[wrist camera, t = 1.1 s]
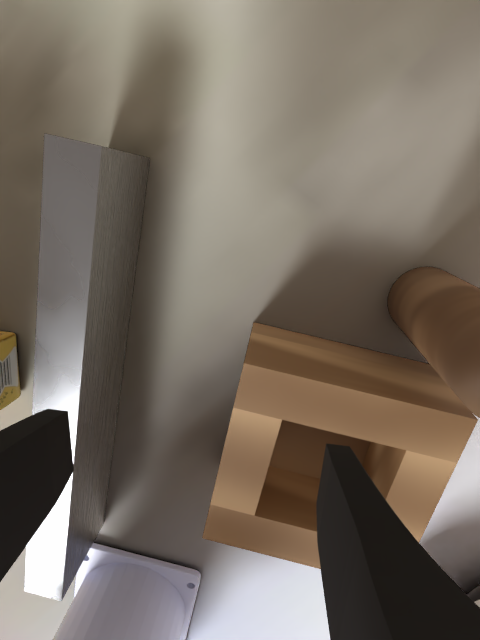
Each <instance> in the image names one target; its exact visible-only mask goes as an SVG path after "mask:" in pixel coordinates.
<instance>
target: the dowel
mask: <svg viewBox="0 0 480 640" xmlns="http://www.w3.org/2000/svg"><path fill="white" fill-rule="evenodd" d="M388 310H389V314H390V316H391V318H392V319H393V321H394V322H395V323H396V324H397V325H398V326H399V328H400V329H401V330H402V331H403V332H404V334H405V335H406V336H407V337H408V338H409V340H410V341H411V342H412V343H413V344H414V346H415V347H416V348H417V349H418V350H419V351H420V353H421V354H422V355H423V356H424V357H425V359H426V360H427V361H428V362H429V363H430V365H431V366H432V367H433V368H434V369H435V370H436V372H437V373H438V374H439V375H440V376H441V378H442V379H443V380H444V381H445V382H446V384H447V385H448V386H449V387H450V388H451V390H452V391H453V392H454V393H455V394H456V395H457V397H458V398H459V399H460V400H461V401H462V403H463V404H464V405H465V406H466V407H467V408H468V409H469V410H470V411H471V412H472V413H473V414H474V415H476V416H478V417H479V418H480V288H478V287H476V286H474V285H472V284H470V283H468V282H466V281H464V280H462V279H460V278H458V277H456V276H454V275H451V274H449V273H447V272H445V271H443V270H441V269H439V268H435V267H419V268H415V269H412V270H410V271H408V272H406V273H404V274H403V275H402V276H400V277H399V278H398V279H397V280H396V282H395V283H394V284H393V286H392V288H391V290H390V292H389V295H388Z"/></svg>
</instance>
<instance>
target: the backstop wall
mask: <svg viewBox="0 0 480 640" xmlns="http://www.w3.org/2000/svg"><path fill="white" fill-rule="evenodd" d="M149 163H150V158H148V157H144V156H140V155H135V154H131V153H127V152H123V151H119V150H115V149H111V148H107V147H103V146H98V145H94V144H90V143H85V142H81V141H76V140H72V139H67V138H63V137H59V136H54V135H50V134H45V135H44V157H43V180H42V203H41V226H40V248H39V271H38V294H37V316H36V339H35V362H34V385H33V407H32V415H34V414H36V413H38V412H41V411H43V410H46V409H54V410H62V411H68V417H69V427H70V436H71V446H72V456H73V465H74V471H73V473H72V475H71V477H70V479H69V481H68V483H67V485H66V486H65V488H64V490H63V492H62V494H61V496H60V497H59V499H58V501H57V503H56V504H55V506H54V507H53V509H52V510H51V512H50V513H49V514H48V516H47V517H46V519H45V520H44V522H43V523H42V524H41V526H40V527H39V529H38V530H37V531H36V533H35V534H34V536H33V537H32V538H31V540H30V541H29V543H28V544H27V545H26V567H25V589H24V591H26V592H30V593H33V594H37V595H41V596H44V597H48V598H52V599H56V600H59V601H62V599H63V597H64V595H65V594H66V592H67V590H68V588H69V586H70V584H71V583H72V581H73V579H74V577H75V575H76V573H77V572H78V570H79V568H80V566H81V564H82V562H83V561H84V559H85V557H86V555H87V553H88V551H89V550H90V548H91V546H92V544H93V542H94V540H95V539H96V537H97V535H98V533H99V531H100V529H101V528H102V526H103V524H104V517H105V509H106V501H107V493H108V485H109V477H110V469H111V462H112V454H113V446H114V438H115V430H116V422H117V414H118V406H119V399H120V391H121V383H122V375H123V367H124V359H125V351H126V344H127V336H128V328H129V320H130V312H131V304H132V296H133V288H134V281H135V273H136V265H137V257H138V249H139V241H140V233H141V225H142V218H143V210H144V202H145V194H146V186H147V178H148V170H149Z"/></svg>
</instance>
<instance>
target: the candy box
mask: <svg viewBox="0 0 480 640" xmlns="http://www.w3.org/2000/svg"><path fill="white" fill-rule="evenodd" d="M20 394H21V391H20V380H19V367H18V356H17V344H16V334H15V333H11V332H3V331H0V410H1V409H3V408H4V407H6V406H7V405H9V404H10V403H11V402H13V401H14V400H15V399H17V398H18V397H19V396H20Z"/></svg>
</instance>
